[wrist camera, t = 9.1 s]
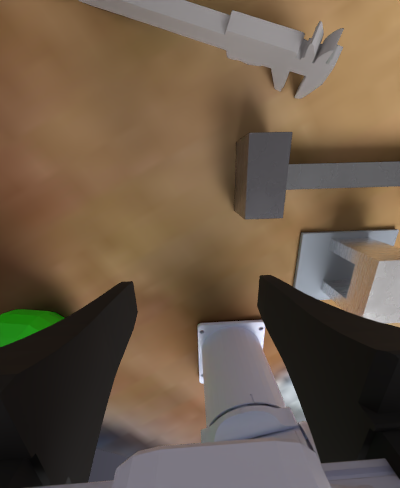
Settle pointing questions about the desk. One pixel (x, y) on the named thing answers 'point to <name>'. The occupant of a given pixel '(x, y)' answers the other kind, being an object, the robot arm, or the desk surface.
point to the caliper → (240, 37)
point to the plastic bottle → (24, 323)
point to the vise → (293, 174)
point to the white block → (367, 279)
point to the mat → (329, 258)
